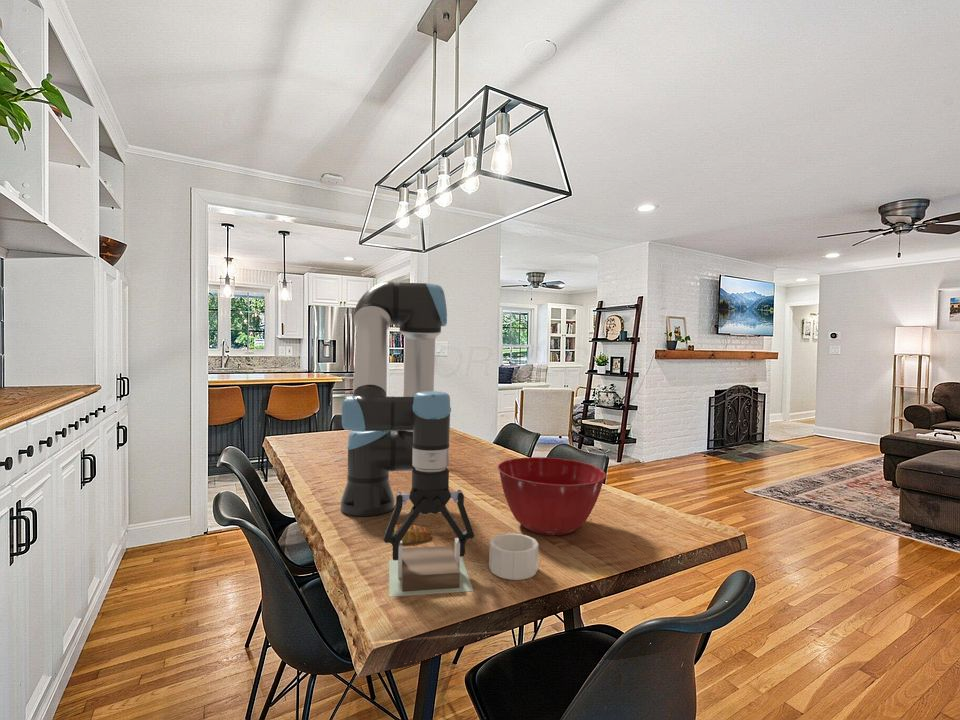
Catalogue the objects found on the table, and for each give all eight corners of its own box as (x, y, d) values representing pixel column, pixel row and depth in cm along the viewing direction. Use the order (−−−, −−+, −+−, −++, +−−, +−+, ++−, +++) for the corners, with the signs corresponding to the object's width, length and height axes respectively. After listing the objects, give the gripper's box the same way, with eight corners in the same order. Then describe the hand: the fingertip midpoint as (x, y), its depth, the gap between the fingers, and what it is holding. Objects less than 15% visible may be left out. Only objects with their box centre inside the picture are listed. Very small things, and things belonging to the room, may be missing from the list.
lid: (400, 561, 108) (401, 548, 108) (451, 559, 110) (451, 545, 110) (402, 591, 95) (402, 576, 95) (459, 587, 97) (459, 572, 97)
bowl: (485, 561, 110) (486, 534, 109) (529, 558, 111) (530, 532, 111) (495, 583, 100) (495, 553, 100) (543, 580, 102) (543, 551, 101)
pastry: (429, 533, 125) (429, 518, 125) (432, 544, 119) (433, 528, 119) (391, 536, 123) (391, 520, 123) (393, 547, 117) (393, 531, 117)
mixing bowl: (580, 506, 149) (581, 455, 148) (623, 545, 120) (625, 482, 120) (487, 509, 144) (488, 456, 143) (509, 550, 116) (511, 485, 115)
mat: (389, 561, 109) (389, 559, 109) (461, 556, 112) (461, 555, 112) (389, 598, 93) (389, 596, 93) (473, 592, 96) (473, 590, 96)
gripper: (371, 473, 96) (369, 585, 96) (490, 470, 100) (487, 577, 101) (372, 464, 103) (371, 568, 104) (483, 461, 107) (481, 561, 108)
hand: (428, 573), depth 102 cm, fingers closed on lid, mat, 11 cm apart
